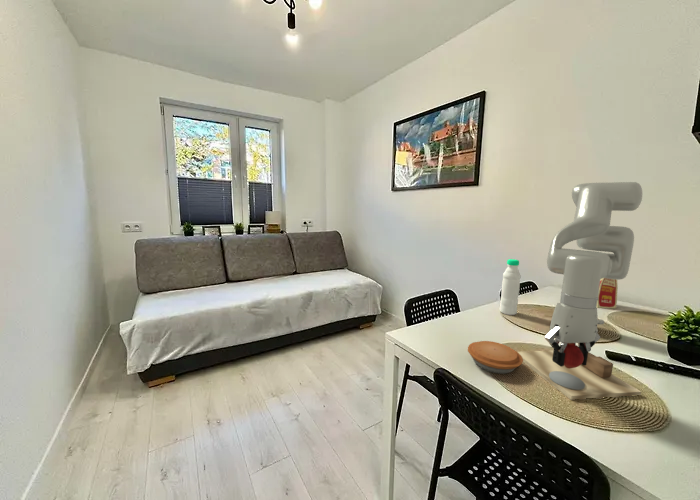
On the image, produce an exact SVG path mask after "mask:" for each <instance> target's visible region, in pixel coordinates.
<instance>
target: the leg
mask: <svg viewBox="0 0 700 500" xmlns="http://www.w3.org/2000/svg"><path fill="white" fill-rule="evenodd" d="M574 344H575V345H576V346H578V344H577V343H574ZM578 347H579V346H578ZM598 357H599V356H596V355H595V354H593V353H592V352H588V357H587V363H586V365H582V364H581V365H582V366H584V367H586V368H587V369H589V370H590V371H592V372H594V373H595V374H597V375H599V376H600V377H602V378H608V377H610V375H611V369H612V365H611V364H609V363H608V362H606V361H604V360H602V359H600V358H598ZM612 370H613V369H612Z"/></svg>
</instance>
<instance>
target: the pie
mask: <svg viewBox="0 0 700 500" xmlns="http://www.w3.org/2000/svg"><path fill="white" fill-rule="evenodd" d="M467 352H468V353H469V355H470V356H471V359H472V360H473V362H474V363H475V365H477V367H478V368H481V369H482V370H485V371H487V372H489V373H494V374H498V375H499V374H509V373H512V372H513V371H514V370H515V369H516V368H518V367H519V366H521V365H523V363H524V362H523V358H522V356H521V355H520V354H519V353H518V352H519V351H517V350H515V349H513V348H511V347H510V346H508V345H506V344H503V343H500V342H497V341H491V340H490V341H489V340H483V341H482V340H480V341H474V342H472V343H470V344H469V345H468V346H467Z"/></svg>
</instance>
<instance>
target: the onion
mask: <svg viewBox="0 0 700 500" xmlns="http://www.w3.org/2000/svg"><path fill="white" fill-rule="evenodd" d="M576 345H577V344H576ZM576 345H575V344H574V343H568V344H567V346H566V348H565V350H564V351H563V352H564V353H565V360H564V366H565V367H566V368H568V369H570V368H576V367H578V366H580V365H581V364H582V363H583V360H584V356H583V353H582V351H581V350H580V348H579V347H578V345H577V346H576Z"/></svg>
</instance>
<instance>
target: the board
mask: <svg viewBox="0 0 700 500" xmlns="http://www.w3.org/2000/svg"><path fill="white" fill-rule="evenodd" d="M553 351H554V349H551V350H550V349H549V350H529V351H527V350H525V351H517V352H518V353H519V354H520V355H521V356H522V358H523V362H522V363H523V364H525V365H526V366H527V367H529V368H530V369H531V370H532V371H533V372H535V374H537V375H539V376H540V377H541V378H543V379H544V380H545V381H546V382H548V383H549V385H551V386H553V387H554V388H555V389H556V390H558V392H560V393H561V394H563V396H565V397H567V398H568V399H569V400H570V401H576V400H575V399H580V400H587V399H586V398H596V399H604V398H603V397H613V398H620V397H619V396H629V397H633V396H632V395H641V396H642V391H641V390H639V389H637V388H636V387H634V386H633V385H631V384H629V383H627V382H626V381H624V380H622V379H620V378H619V377H617V376H616V375H614V374H611V376H610V377H608V378H602V377H600V376H599V375H597V374H595V373H594V372H592V371H590V370H589V369H587V368H586V367H584V366H582V365H580V366H578V367H576V368H570V369H568V368H566V367H565V366H559V365H558V364H556V363H555V362H553V360H552V358H553ZM553 371H561V372H565V373H569V374H571V375H574V376H576V377H578V378H579V379H581V380H582V381H583V382H584V384H585V388H584V389H582V390H572V389H568V388H565V387H562V386H560V385H558V384H556V383H554V382H553V381H552V380H551V379H550V378H549V373H550V372H553Z"/></svg>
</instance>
